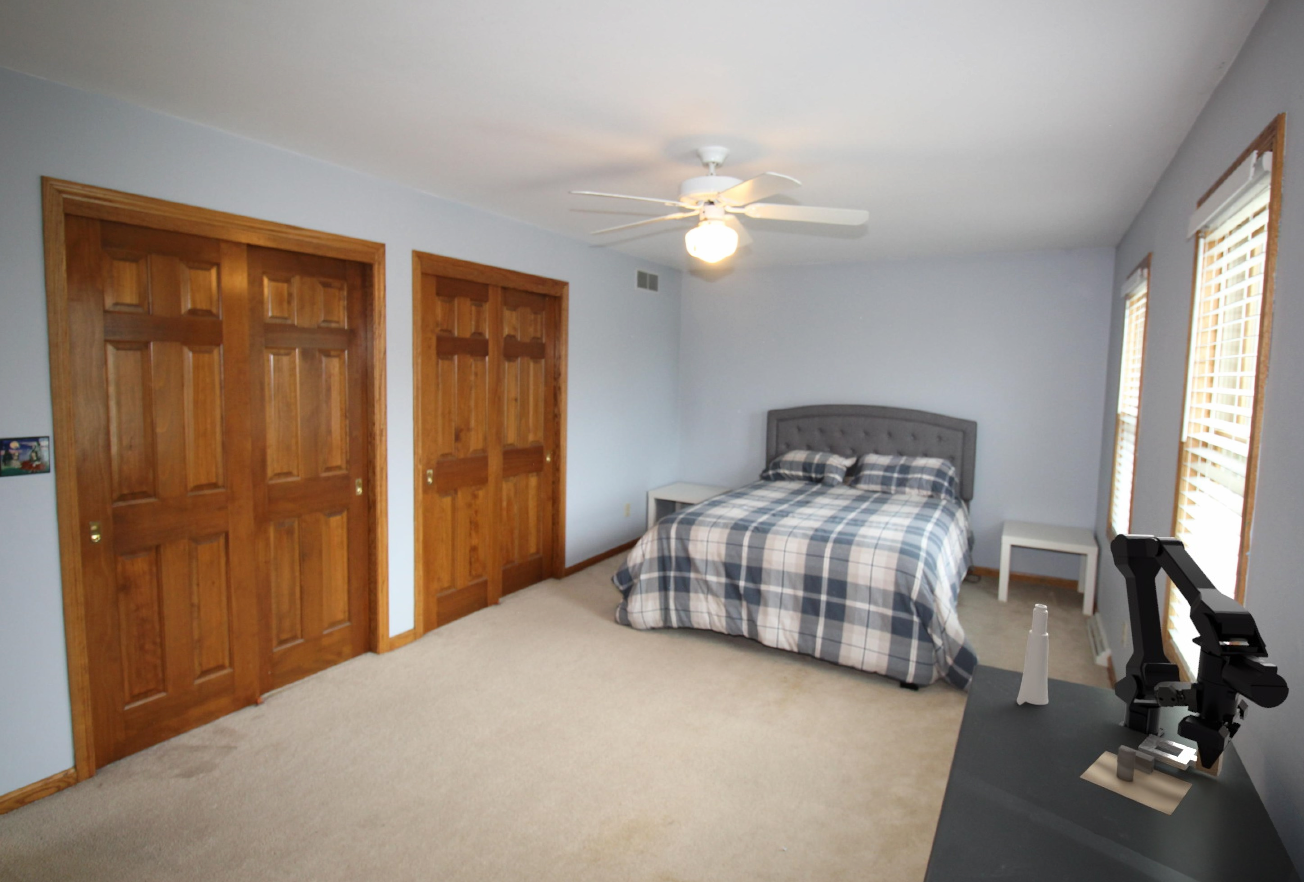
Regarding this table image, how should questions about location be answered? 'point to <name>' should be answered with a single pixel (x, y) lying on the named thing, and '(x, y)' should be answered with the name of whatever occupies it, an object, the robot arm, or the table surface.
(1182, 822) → the table surface
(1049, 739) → the table surface
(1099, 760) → the maple peg board
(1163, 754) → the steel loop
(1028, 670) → the cosmetic bottle
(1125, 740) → the table surface
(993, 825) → the table surface
